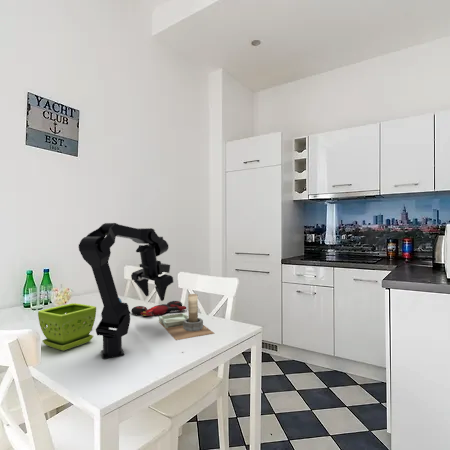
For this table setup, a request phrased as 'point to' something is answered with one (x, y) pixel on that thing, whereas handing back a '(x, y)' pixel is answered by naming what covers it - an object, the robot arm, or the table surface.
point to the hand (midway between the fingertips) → (154, 298)
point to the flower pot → (67, 325)
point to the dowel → (193, 308)
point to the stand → (183, 326)
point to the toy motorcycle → (158, 309)
